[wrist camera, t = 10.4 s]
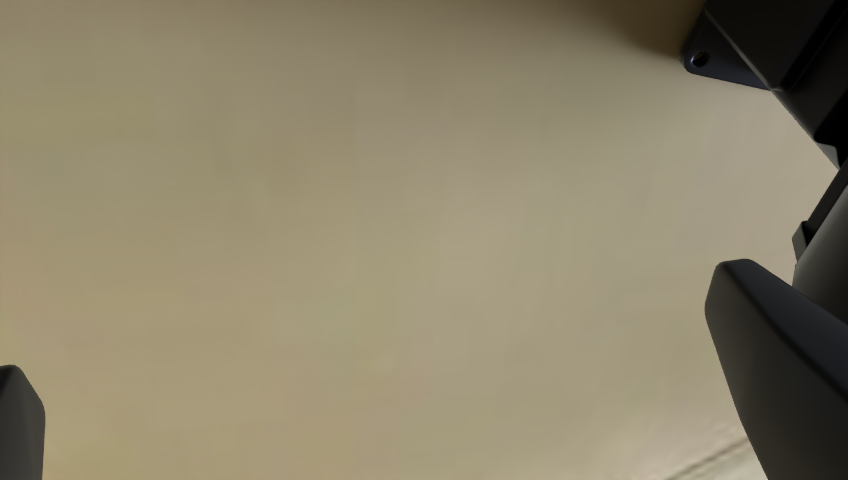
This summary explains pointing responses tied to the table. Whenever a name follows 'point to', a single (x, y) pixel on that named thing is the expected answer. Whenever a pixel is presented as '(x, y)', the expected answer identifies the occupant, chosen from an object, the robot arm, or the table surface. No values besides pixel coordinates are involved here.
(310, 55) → the table surface
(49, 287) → the table surface
